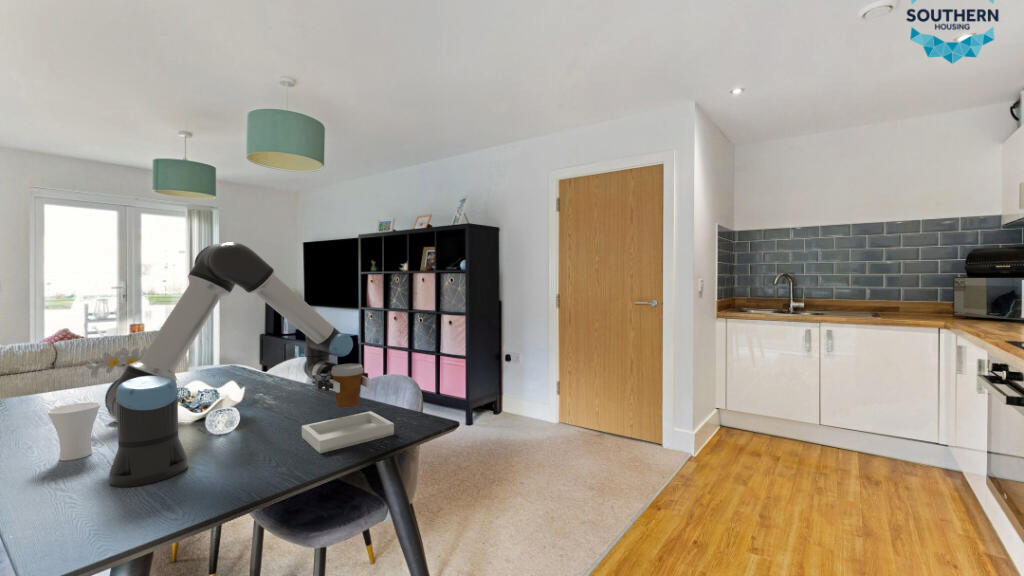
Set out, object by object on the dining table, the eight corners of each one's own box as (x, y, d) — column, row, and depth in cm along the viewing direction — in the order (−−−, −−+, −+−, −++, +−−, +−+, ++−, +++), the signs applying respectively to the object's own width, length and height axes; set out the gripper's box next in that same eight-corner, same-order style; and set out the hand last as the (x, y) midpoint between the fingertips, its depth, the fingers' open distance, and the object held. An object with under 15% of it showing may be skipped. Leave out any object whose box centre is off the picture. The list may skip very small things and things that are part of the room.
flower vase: (80, 426, 147) (77, 351, 146) (144, 411, 164) (142, 343, 163) (102, 431, 142) (100, 353, 141) (166, 415, 159) (164, 345, 158)
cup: (51, 455, 123) (50, 407, 123) (103, 446, 130) (101, 400, 129) (45, 467, 115) (43, 415, 115) (100, 456, 122) (99, 407, 121)
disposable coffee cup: (357, 409, 131) (356, 369, 131) (326, 409, 132) (325, 369, 131) (368, 400, 141) (368, 363, 141) (339, 400, 141) (338, 363, 141)
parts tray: (320, 453, 123) (319, 440, 123) (301, 437, 136) (301, 425, 136) (393, 434, 137) (393, 423, 137) (371, 421, 150) (370, 411, 150)
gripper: (358, 379, 157) (386, 391, 139) (294, 389, 143) (317, 404, 126) (358, 358, 156) (386, 367, 139) (293, 366, 143) (316, 378, 126)
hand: (353, 385), depth 133 cm, fingers closed on disposable coffee cup, 8 cm apart
